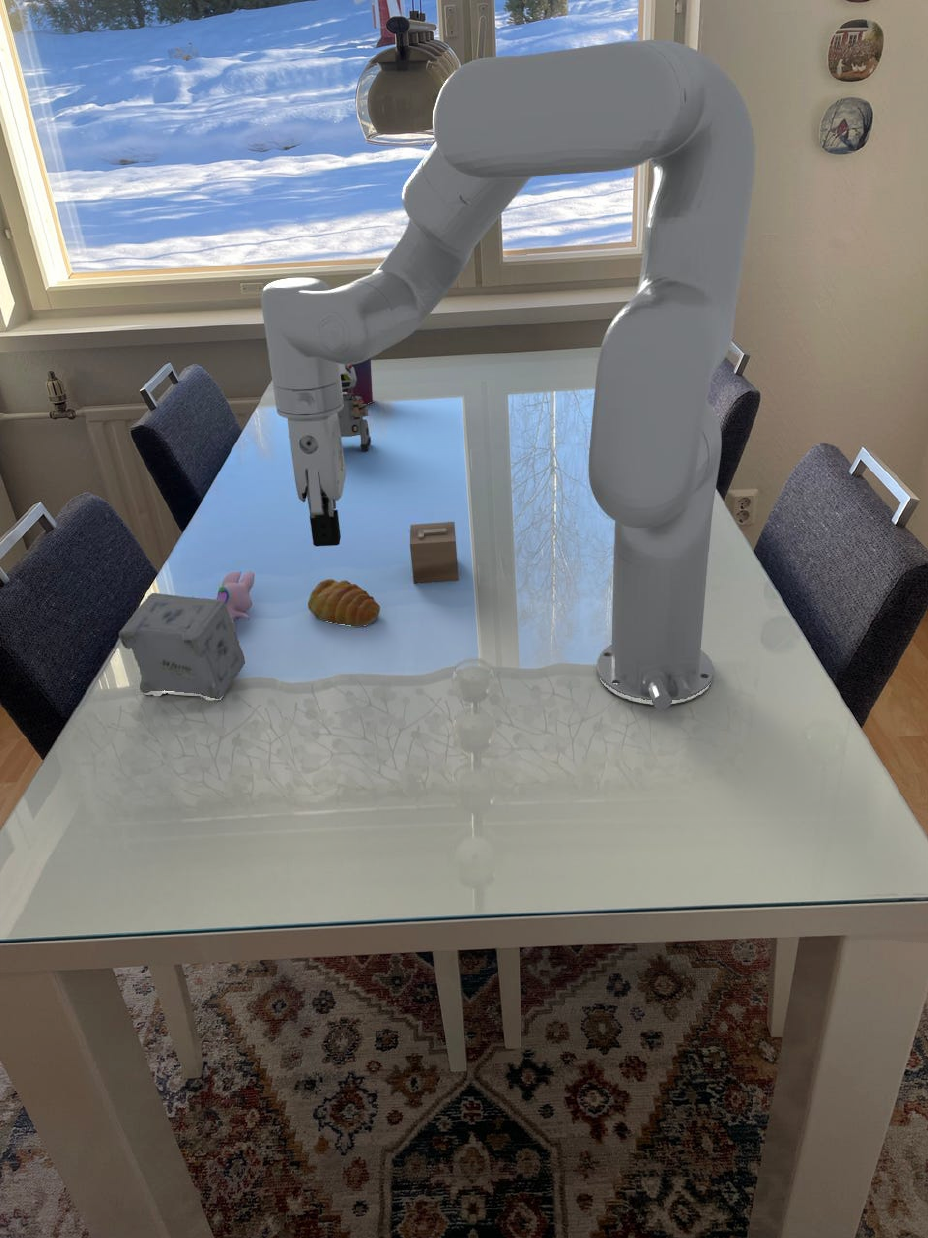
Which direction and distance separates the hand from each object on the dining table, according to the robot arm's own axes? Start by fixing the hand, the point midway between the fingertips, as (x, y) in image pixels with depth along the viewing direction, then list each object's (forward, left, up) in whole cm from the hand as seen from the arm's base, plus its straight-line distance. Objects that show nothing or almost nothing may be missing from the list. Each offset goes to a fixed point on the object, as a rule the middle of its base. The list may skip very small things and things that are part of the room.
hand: (327, 542), depth 114 cm
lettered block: (+10, -13, -10) cm, 19 cm away
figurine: (+63, +3, -10) cm, 64 cm away
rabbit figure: (+1, +14, -10) cm, 17 cm away
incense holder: (-14, +15, -10) cm, 23 cm away
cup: (+88, +2, -10) cm, 88 cm away
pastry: (+1, -1, -11) cm, 11 cm away
